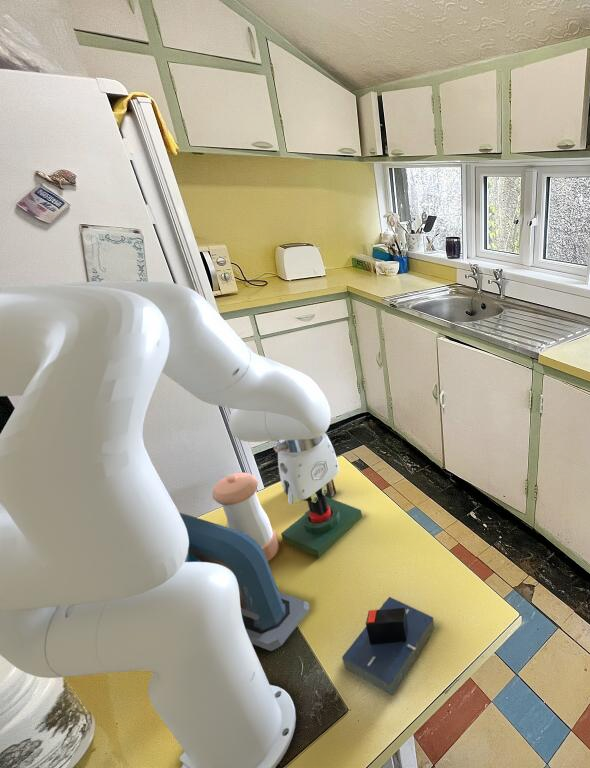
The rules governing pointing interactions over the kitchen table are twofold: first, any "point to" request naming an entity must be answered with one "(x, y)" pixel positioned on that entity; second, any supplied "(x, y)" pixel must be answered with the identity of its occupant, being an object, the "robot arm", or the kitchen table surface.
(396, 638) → the switch handle
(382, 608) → the switch base
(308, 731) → the kitchen table surface
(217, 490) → the salt shaker
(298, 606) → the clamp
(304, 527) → the box
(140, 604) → the robot arm
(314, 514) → the release button
